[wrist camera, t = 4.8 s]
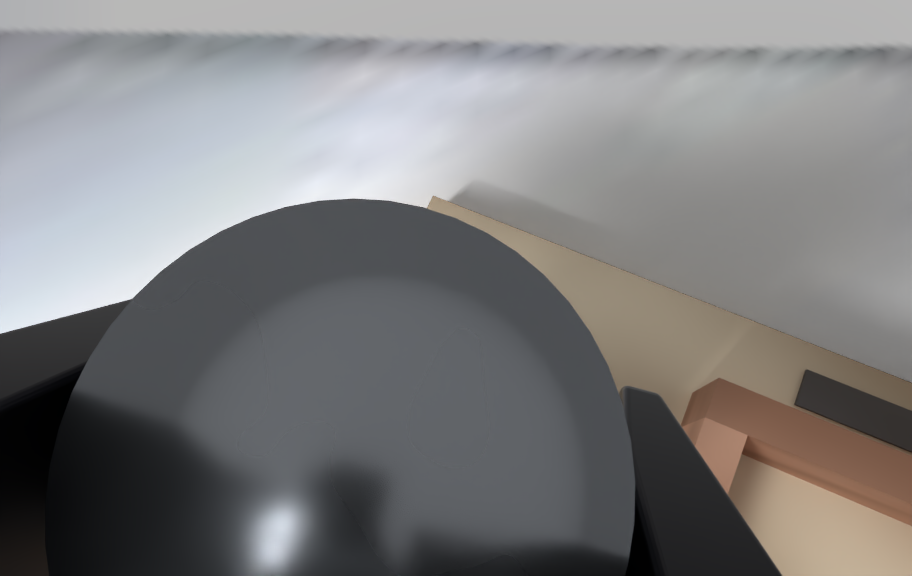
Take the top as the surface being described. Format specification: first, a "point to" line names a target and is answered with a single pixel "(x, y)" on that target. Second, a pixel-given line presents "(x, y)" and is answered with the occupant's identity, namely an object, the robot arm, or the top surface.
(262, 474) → the dark grey cylinder
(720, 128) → the top surface
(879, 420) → the wooden board with frame
